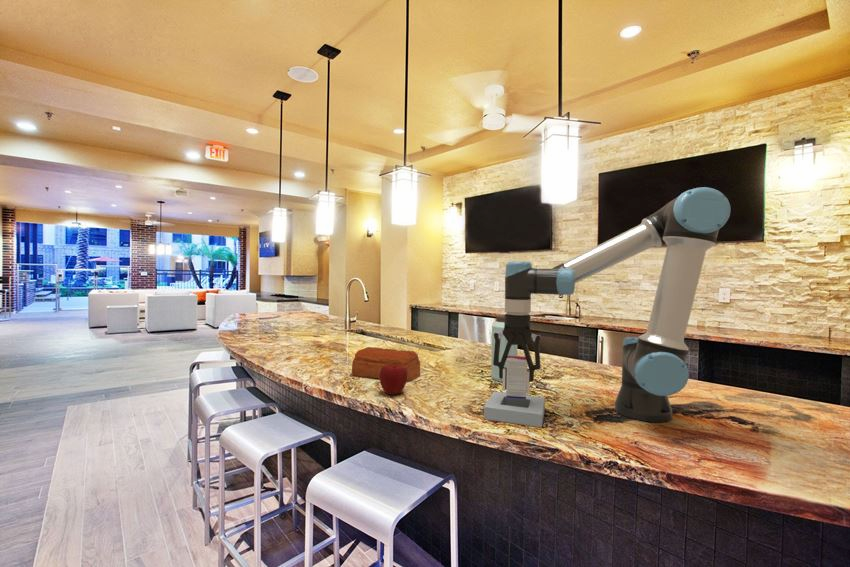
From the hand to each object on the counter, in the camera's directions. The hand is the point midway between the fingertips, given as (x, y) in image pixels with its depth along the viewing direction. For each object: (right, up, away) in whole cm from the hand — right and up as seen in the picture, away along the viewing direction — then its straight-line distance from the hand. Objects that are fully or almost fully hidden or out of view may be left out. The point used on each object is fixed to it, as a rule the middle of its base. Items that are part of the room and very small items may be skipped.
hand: (516, 390), depth 115 cm
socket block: (0, -7, 0) cm, 7 cm away
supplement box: (0, -2, 0) cm, 2 cm away
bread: (-43, -6, +42) cm, 61 cm away
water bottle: (+4, -6, +38) cm, 39 cm away
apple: (-38, -6, +18) cm, 43 cm away
